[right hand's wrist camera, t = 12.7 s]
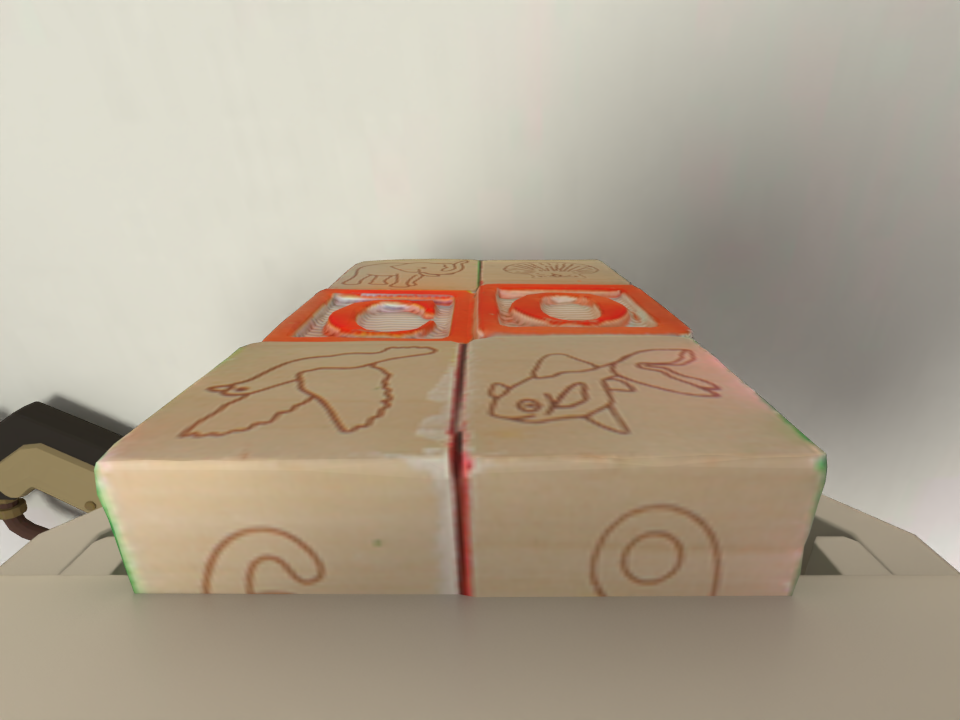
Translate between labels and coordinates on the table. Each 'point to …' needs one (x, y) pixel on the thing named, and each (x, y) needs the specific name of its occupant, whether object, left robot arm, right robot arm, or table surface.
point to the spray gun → (48, 462)
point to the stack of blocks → (467, 450)
